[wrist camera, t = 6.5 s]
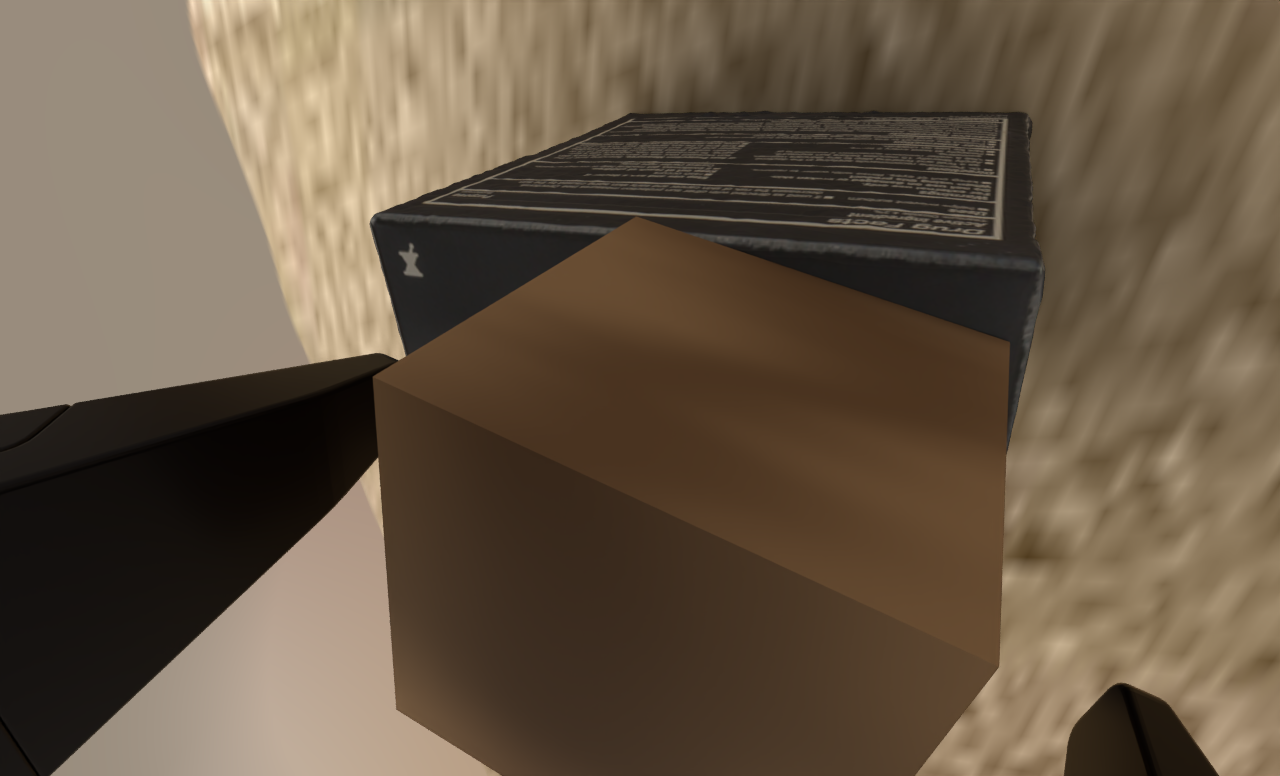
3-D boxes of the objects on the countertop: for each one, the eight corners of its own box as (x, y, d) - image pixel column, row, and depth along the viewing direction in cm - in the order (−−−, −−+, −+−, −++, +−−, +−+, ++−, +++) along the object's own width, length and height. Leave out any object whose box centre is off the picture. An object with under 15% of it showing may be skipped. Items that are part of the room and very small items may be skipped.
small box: (638, 318, 23) (428, 503, 15) (623, 109, 20) (347, 199, 12) (989, 362, 19) (964, 656, 11) (1039, 105, 16) (1060, 241, 7)
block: (1009, 341, 8) (998, 666, 4) (865, 608, 11) (780, 949, 7) (636, 216, 10) (371, 377, 6) (593, 481, 12) (396, 709, 9)
